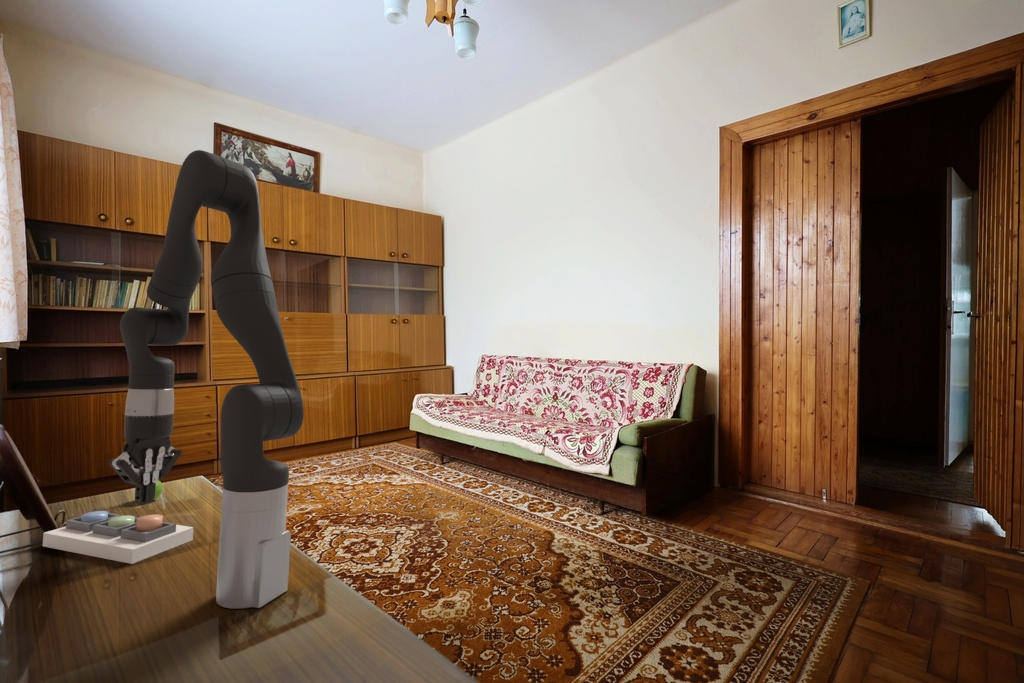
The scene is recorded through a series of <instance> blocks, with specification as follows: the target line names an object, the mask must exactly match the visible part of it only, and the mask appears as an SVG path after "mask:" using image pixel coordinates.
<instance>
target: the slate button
mask: <svg viewBox="0 0 1024 683" xmlns="http://www.w3.org/2000/svg"><path fill="white" fill-rule="evenodd" d="M108 513H109V511H106V510H96V511H89V512H85V513H83V514H82V515H81V516H80V517H81V521H82V522H87V523H92V522H96V521H99V520H103V519H106V518H108Z"/></svg>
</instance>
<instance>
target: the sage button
mask: <svg viewBox="0 0 1024 683" xmlns="http://www.w3.org/2000/svg"><path fill="white" fill-rule="evenodd" d="M135 517H136V516H135V515H122V516H118V517H114V518H111V519H109V520H108V526H110V527H116V528H119V527H122V526H125V525H129V524H132V523H134V521H135Z"/></svg>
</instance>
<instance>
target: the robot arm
mask: <svg viewBox="0 0 1024 683" xmlns="http://www.w3.org/2000/svg"><path fill="white" fill-rule="evenodd" d="M180 166H181V167H180V170H179V172H178V175H177V180H176V183H175V189H174V193H173V196H172V202H171V206H170V211H169V217H168V221H167V226H166V231H165V237H164V242H163V246H162V249H161V253H160V254H159V257H158V260H157V262H156V265H155V267H154V269H153V272H152V275H151V277H150V279H149V282H148V283H147V287H146V288H147V289H146V295H147V297H148V298H149V299H150V301H152V302H153V303H155V304H157V305H159V306H162V307H165V308H167V309H162V308H149V307H139V306H137V307H136V306H135V307H134V306H133V307H131V308H129V309H127V310H126V311H125V312H123V314H122V316H121V319H120V322H119V330H120V331H119V332H120V335H121V339H122V340H123V341H122V342H123V345H124V348H125V351H126V355H127V356H126V357H127V361H128V367H129V371H128V374H129V375H128V390H127V395H126V399H125V409H124V410H125V413H124V424H123V426H124V427H123V437H124V439H125V444H124V446H123V448H122V453H121V454H120V455H118V457H116V458H111V459H110V460H109V461H108V465H109V466H110V467H111V468H112V469H113V470H114V472H116V473H117V475H118V476H119V477H120V478H121V480H122V481H123V482H124V483H126V484H133V485H135V486H134V487H135V488H134V489H135V490H134V491H135V492H134V502H136V504H137V505H142V506H145V505H148V504H152V503H153V501H154V500H155V499H154V497H155V487H156V482H157V481H158V480H160V479H162V478H163V479H164V478H166V477H167V476H168V474H169V472H170V471H171V470H172V468H173V466H174V465H175V464H176V462H177V461H178V459H179V458H180V456H181V454H182V452H183V451H182V449H178V448H176V447H174V446H172V444H173V443H172V440H171V438H170V436H172V435H173V432H174V431H173V430H174V416H175V414H174V413H175V393H174V392H175V391H174V390H175V389H174V388H175V387H174V386H175V367H176V366H175V362H174V361H173V360H171V359H170V358H166V357H161V356H157V355H154V354H153V353H152V351H151V350H150V348H149V346H169V347H170V346H176V345H179V344H180V343H181V342H183V341H184V339H186V337H187V335H188V332H189V314H190V308H191V307H190V306H191V301H192V298H193V295H194V293H195V291H196V289H197V286H198V284H199V282H200V279H201V276H202V272H203V269H204V268H203V265H204V264H203V262H204V261H203V256H202V253H201V249H200V245H199V242H198V239H197V238H198V237H197V234H196V220H197V216H198V214H199V211H200V209H201V208H202V207H203V208H207V209H212V210H216V211H219V212H222V213H225V214H226V215H227V218H228V221H229V224H230V238H229V241H228V243H227V245H226V246H225V247H224V249H223V250H222V252H221V254H219V257H218V258H217V259H216V262H215V263H214V265H213V267H212V270H211V274H210V284H211V285H210V286H211V291H212V296H213V303H214V306H215V307H214V308H215V311H216V313H217V317H218V318H219V320H220V322H221V323H222V325H223V326H224V328H225V329H226V330H227V331H228V332H229V334H231V336H232V337H233V338H234V339H235V340H236V341H237V343H238V344H239V345H240V346H241V347H242V348H243V350H244V351H245V352H246V354H247V355H248V356H249V358H250V360H251V362H252V363H253V365H254V369H255V371H256V374H257V377H258V381H259V383H243V384H238V385H234V386H233V387H231V389H229V390H228V391H227V393H226V395H225V396H224V399H223V401H222V405H221V412H220V455H219V456H220V459H219V460H220V469H221V473H222V478H223V479H222V480H223V481H222V496H221V498H222V499H221V512H220V525H219V526H220V527H219V543H218V544H219V545H218V557H217V558H218V560H217V575H216V576H217V577H216V590H215V602H216V605H219V607H222V608H224V609H225V608H227V609H233V610H236V609H249V608H255V609H256V608H257V609H260V608H262V607H263V606H265V605H266V604H268V603H269V602H271V601H273V600H274V599H276V598H278V597H279V596H280V595H282V594H284V593H285V592H287V591H288V586H289V571H290V554H291V553H290V552H291V535H292V533H291V531H290V530H288V529H286V525H287V511H288V510H287V509H288V494H289V492H288V491H289V477H290V476H289V474H290V468H289V467H288V465H287V464H286V463H284V462H282V461H278V460H274V459H273V460H272V459H269V458H267V457H266V456H265V453H264V442H268V441H275V440H276V441H277V440H282V439H287V438H290V437H293V436H295V435H296V434H297V433H298V432H299V431H300V430H301V428H302V425H303V422H304V419H305V418H304V416H305V407H304V402H303V397H302V392H301V389H300V386H299V383H298V379H297V377H296V374H295V370H294V367H293V364H292V361H291V359H290V354H289V352H288V347H287V345H286V344H287V343H286V341H285V336H284V333H283V328H282V324H281V320H280V315H279V311H278V310H279V309H278V305H277V304H278V303H277V298H276V297H277V296H276V293H275V292H276V291H275V288H274V283H273V278H272V275H271V271H270V266H269V262H268V257H267V252H266V247H265V240H264V232H263V225H262V214H261V205H260V203H261V201H260V194H259V187H258V182H257V179H256V177H255V175H254V173H253V172H252V170H251V169H250V168H249V167H247V166H246V165H243V164H241V163H239V162H236V161H233V160H231V159H228V158H225V157H223V156H220V155H217V154H214V153H212V152H208V151H206V150H201V149H196V150H193V151H191V152H190V153H189V154H188V155H187V156H186V157H185V159H184V160H183V162H182V164H181V165H180ZM153 499H154V500H153Z"/></svg>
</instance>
